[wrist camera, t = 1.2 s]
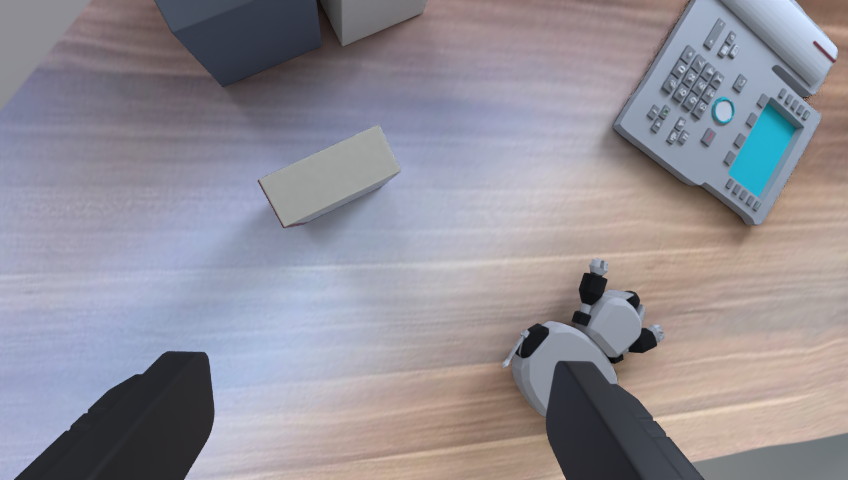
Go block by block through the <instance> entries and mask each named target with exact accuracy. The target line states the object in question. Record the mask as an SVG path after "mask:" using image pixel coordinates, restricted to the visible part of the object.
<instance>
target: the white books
mask: <svg viewBox="0 0 848 480" xmlns="http://www.w3.org/2000/svg"><path fill="white" fill-rule="evenodd" d="M320 2H321V4H322V6H323V8H324V10H325V12H326V14H327V16H328V19H329V20H330V21H331V25H332V27H333V29H334V31H335V33H336V35H337V37H338V39H339V41H340V43H341V45H342V46H345V45H347V44H350V43H352V42H355V41H357V40H359V39H362V38H364V37H366V36H369V35H371V34H374V33H376V32H378V31H381V30H383V29H385V28H388V27H390V26H393V25H395V24H397V23H400V22H402V21H404V20H407V19H409V18H411V17H414V16H416V15H419V14H421V13H423V11H424V8H425V6H426V3H427V0H320Z"/></svg>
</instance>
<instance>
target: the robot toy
mask: <svg viewBox="0 0 848 480" xmlns="http://www.w3.org/2000/svg"><path fill="white" fill-rule="evenodd" d="M589 267H590V273H591V274H590V273H584V275H583V278H582V281H581V284H580V287H579V293H580V297H581V301H582V305H581V308H580V311H575V312H574V315H573V318H572V322H574V323H575V326H576V328H573V327H571V326H568V325H565V324H562V323H560V322H554V321H548V322H546V323H544V324H542V325H540V324H538V323H537V324H535V325H534V326H532V327H530V328H529V329H528V330H523V331H522V333H521V334H520V335H521V337H520V339H519V340H518V342H517V344H516V345H515V347H514V348H513V350H512V351H511V353H510V354H509V356H508V357H507V359H505V361H504V362H503V368H505V367H507V366H508V364H509V363H510V360H511V358H512V357H513V355H514V357H513V360H512V364H511V367H512V374H513V377H514V380H515V382H516V384H517V386H518V388H519V390H520V392H521V393H522V394H523V396H524V397H525V399H526V400H527V402H528V403H529V404H530V406H531V407H532V408H533V409H534V410H536V411H537V412H538V413H539V414H541V415H542V416H543V417H545V418H546V412H547V406H548V401H549V396H550V390H551V385H552V379H553V374H554V369H555V365H556V363H557V362H558V361H591V362H593V363H594V364H595V365H596V366H597V367H598V369H599V370H600V371H601V372H602V374H603V375H604V376H605V378H606V379H607V380H608V381H609V383H610V384H617V385H618V383H617V377H616V374H615V371H614V369H613V367H612V365H611V363H613V364H616V363H618V362H620V361H622V360H623V355H624V354H626V353H628V352H634V353H644V352H646V351H648V350H650V349H652V348H654V347H656V346H657V342H660V341H661V340H662V339H664V332H661V330H663V329H662V327H661V326H660V325H658V324H655V325H651V326H649V328H648V329H646V328H641V324H642V321H643V319H644V316H645V314H646V313H645V310H644V306H643V305H640V304H639V303H640V299H639V297H638V295H637V294H636V293H635V292H632V291H625V292H623V291H618V290H612V289H610V290H608V291H606V292H605V293H604V290H605V286H606V283H607V279H605V278H603V277H602V276H603V275H604V274H605V273H606V272H607V270H608V264H607V262H606V261H602V260H601V259H599V258H596V259H593V260H592V262H591V263H590V265H589ZM514 353H515V354H514Z"/></svg>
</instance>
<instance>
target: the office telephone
mask: <svg viewBox="0 0 848 480" xmlns="http://www.w3.org/2000/svg"><path fill="white" fill-rule="evenodd" d="M837 54H838V52H837V48H836V46H835V45H834V44H833V43H832V42H831V40H830V39H829V38H828V37H827V36H826V35H825V33H824V32H823V31H822V30H821V29H820V28H819V27H818V26H817V25H816V24H815V23H814V22H813V20H811V19H810V18H809V17H808V16H807V15H806V14H805V12H804V10H803V9H802V8H801V7H800V6H799V5H798V4H797V2H796V1H795V0H691V1H690V3H689V4H688V6H687V8H686V9H685V11H684V13H683V14H682V16H681V17H680V19H679V21H678V22H677V24H676V26H675V27H674V29H673V31H672V32H671V34H670V36H669V37H668V39H667V41H666V42H665V44H664V46H663V47H662V49H661V51H660V52H659V54H658V56H657V57H656V59H655V61H654V62H653V64H652V66H651V67H650V69H649V71H648V72H647V74H646V76H645V77H644V79H643V80H642V82H641V84H640V85H639V87H638V88H637V90H636V91H635V93H634V94H633V95H632V96H631V98H630V99H629V100H628V102H627V104H626V105H625V107H624V109H623V110H622V112H621V114H620V115H619V117H618V118H617V120H616V122H615V123H614V125H613V127H614V129H615V130H616V131H617V132H618V133H619V134H621V135H622V136H623V137H624V138H626V139H627V140H628V141H630V142H631V143H632V144H633V145H635V146H636V147H637V148H639V149H640V150H641V151H643V152H644V153H645V154H647V155H648V156H649V157H650V158H652V159H653V160H654V161H656V162H657V163H658V164H660V165H661V166H662V167H664V168H665V169H666V170H667V171H669V172H670V173H671V174H673V175H674V176H675V177H677V178H678V179H679V180H681V181H682V182H684V183H686V184H687V185H690V186H694V185H700V186H702V187H703V188H705V189H706V190H707V191H709V192H710V193H711V194H713V195H714V196H715V197H717V198H718V199H719V200H721V201H722V202H723V203H724V204H726V205H727V206H728V207H730V208H731V209H732V210H733V211H735V212H736V213H737V214H738V215H739V216H741V217H742V218H743V220H744V222H745V224H747V225H760V224H761V223H762V222H763V221H764V219H765V218H766V216H767V214H768V213H769V211H770V209H771V208H772V206H773V204H774V202H775V201H776V199H777V197H778V195H779V194H780V192H781V190H782V189H783V187H784V185H785V183H786V182H787V180H788V178H789V176H790V175H791V173H792V171H793V169H794V168H795V166H796V164H797V162H798V160H799V159H800V157H801V155H802V153H803V152H804V150H805V148H806V146H807V144H808V143H809V141H810V139H811V137H812V135H813V133H814V131H815V129H816V127H817V125H818V123H819V121H820V119H821V114H820V113H819V112H817V111H816V110H814V109H813V108H812V107H811V106H810V105H809V104H807V103H806V102H805V101H804V100H803V99H802V98H801V97H806V96H809V95H813V94H815V93H816V92H817V90H818V89H819V87H820V85H821V84H822V82H823V80H824V79H825V77H826V75H827V73H828V72H829V70H830V68H831V66H832V65H833V63H834V62H836V60H835V59H836V57H837Z"/></svg>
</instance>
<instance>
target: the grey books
mask: <svg viewBox="0 0 848 480" xmlns="http://www.w3.org/2000/svg"><path fill="white" fill-rule="evenodd" d="M154 1H155V2H156V4H157V6H158V8H159V10H160V12H161V14H162V15H163V17H164V19H165V21H166V23H167V25H168V26H169V28H170V30H171V32H172V33H173V34H174V35H175V36H176V38H177V39H178V40H179V41H180V42H181V43H182V44H183V45H184V46H185V47H186V48H187V49H188V50H189V51H190V53H191V54H192V55H193V56H194V57H195V58H196V59H197V60H198V61H199V62H200V63H201V64H202V65H203V66H204V67H205V69H206V70H207V71H208V72H209V73H210V74H211V75H212V76H213V77H214V78H215V79H216V80H217V81H218V82H219V84H220V85H221V86H222V87H225V86H227V85H229V84H232V83H234V82H237V81H239V80H241V79H244V78H246V77H249V76H251V75H253V74H256V73H258V72H261V71H263V70H265V69H268V68H270V67H272V66H275V65H277V64H280V63H282V62H284V61H287V60H289V59H292V58H294V57H296V56H299V55H301V54H304V53H306V52H308V51H311V50H313V49H316V48H318V47H320V46H322V41H321V33H320V25H319V18H318V10H317V3H316V0H154Z"/></svg>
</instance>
